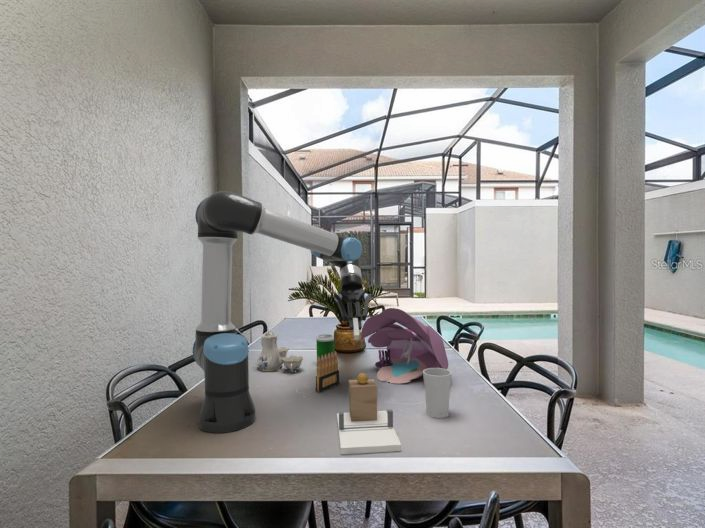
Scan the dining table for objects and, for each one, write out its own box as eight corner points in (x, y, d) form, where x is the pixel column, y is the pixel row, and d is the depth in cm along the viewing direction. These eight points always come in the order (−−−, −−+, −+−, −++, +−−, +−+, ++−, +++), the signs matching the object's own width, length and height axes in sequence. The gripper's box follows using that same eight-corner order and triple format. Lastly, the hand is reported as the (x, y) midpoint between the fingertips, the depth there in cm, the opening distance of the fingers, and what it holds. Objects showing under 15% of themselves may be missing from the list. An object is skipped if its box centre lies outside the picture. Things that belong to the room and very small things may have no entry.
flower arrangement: (354, 390, 147) (339, 318, 143) (379, 362, 167) (366, 299, 163) (446, 395, 130) (432, 315, 126) (461, 364, 150) (449, 293, 146)
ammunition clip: (319, 392, 130) (318, 357, 130) (315, 391, 132) (314, 356, 131) (339, 384, 139) (339, 350, 139) (335, 383, 140) (335, 349, 140)
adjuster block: (349, 411, 110) (348, 370, 109) (374, 410, 110) (373, 369, 110) (351, 420, 104) (350, 377, 103) (377, 419, 104) (376, 376, 104)
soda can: (338, 364, 164) (337, 336, 164) (322, 367, 160) (322, 338, 159) (328, 360, 170) (328, 333, 170) (313, 363, 166) (313, 335, 166)
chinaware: (310, 376, 154) (313, 333, 155) (270, 379, 145) (273, 334, 145) (281, 361, 177) (283, 324, 178) (245, 363, 168) (248, 324, 169)
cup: (434, 421, 107) (433, 377, 107) (417, 410, 114) (417, 370, 114) (457, 416, 110) (457, 373, 110) (440, 406, 117) (440, 366, 117)
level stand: (336, 418, 109) (336, 399, 109) (386, 416, 111) (386, 396, 111) (341, 454, 90) (340, 430, 89) (401, 451, 91) (400, 427, 91)
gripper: (368, 287, 141) (376, 343, 125) (332, 288, 140) (335, 344, 124) (370, 273, 136) (378, 330, 119) (333, 274, 135) (336, 331, 118)
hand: (356, 337), depth 122 cm, fingers closed
